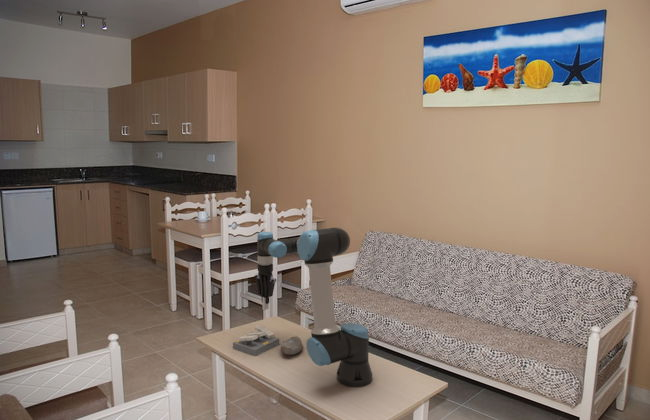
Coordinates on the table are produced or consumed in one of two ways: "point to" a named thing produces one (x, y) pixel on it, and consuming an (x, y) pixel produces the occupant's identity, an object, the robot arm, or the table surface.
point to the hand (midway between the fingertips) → (265, 309)
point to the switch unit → (256, 345)
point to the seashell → (291, 346)
